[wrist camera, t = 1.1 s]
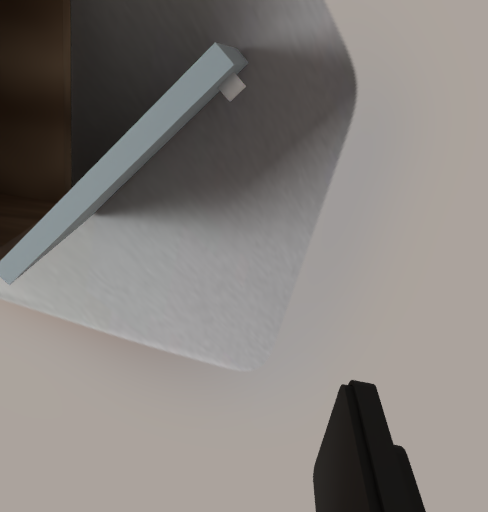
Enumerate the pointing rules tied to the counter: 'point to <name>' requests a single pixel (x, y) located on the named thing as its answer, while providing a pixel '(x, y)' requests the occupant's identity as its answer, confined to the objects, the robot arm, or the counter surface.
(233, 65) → the door
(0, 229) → the cabinet
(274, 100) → the counter surface
